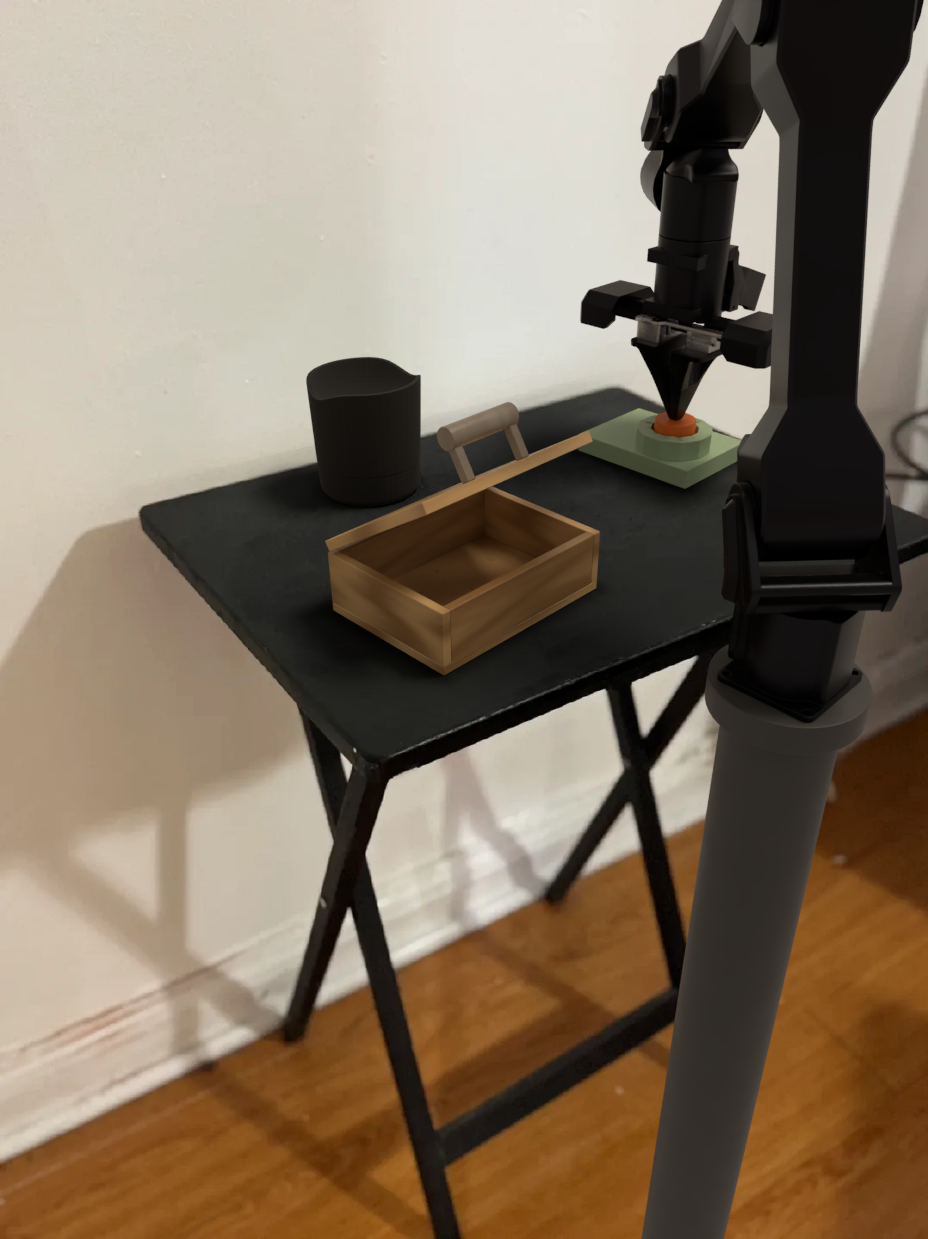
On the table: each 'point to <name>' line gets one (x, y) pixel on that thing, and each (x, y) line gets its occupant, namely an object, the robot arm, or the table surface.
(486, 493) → the wooden case
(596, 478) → the table surface
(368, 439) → the pen holder
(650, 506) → the table surface
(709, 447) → the control block
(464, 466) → the case lid
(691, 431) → the button
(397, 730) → the table surface
